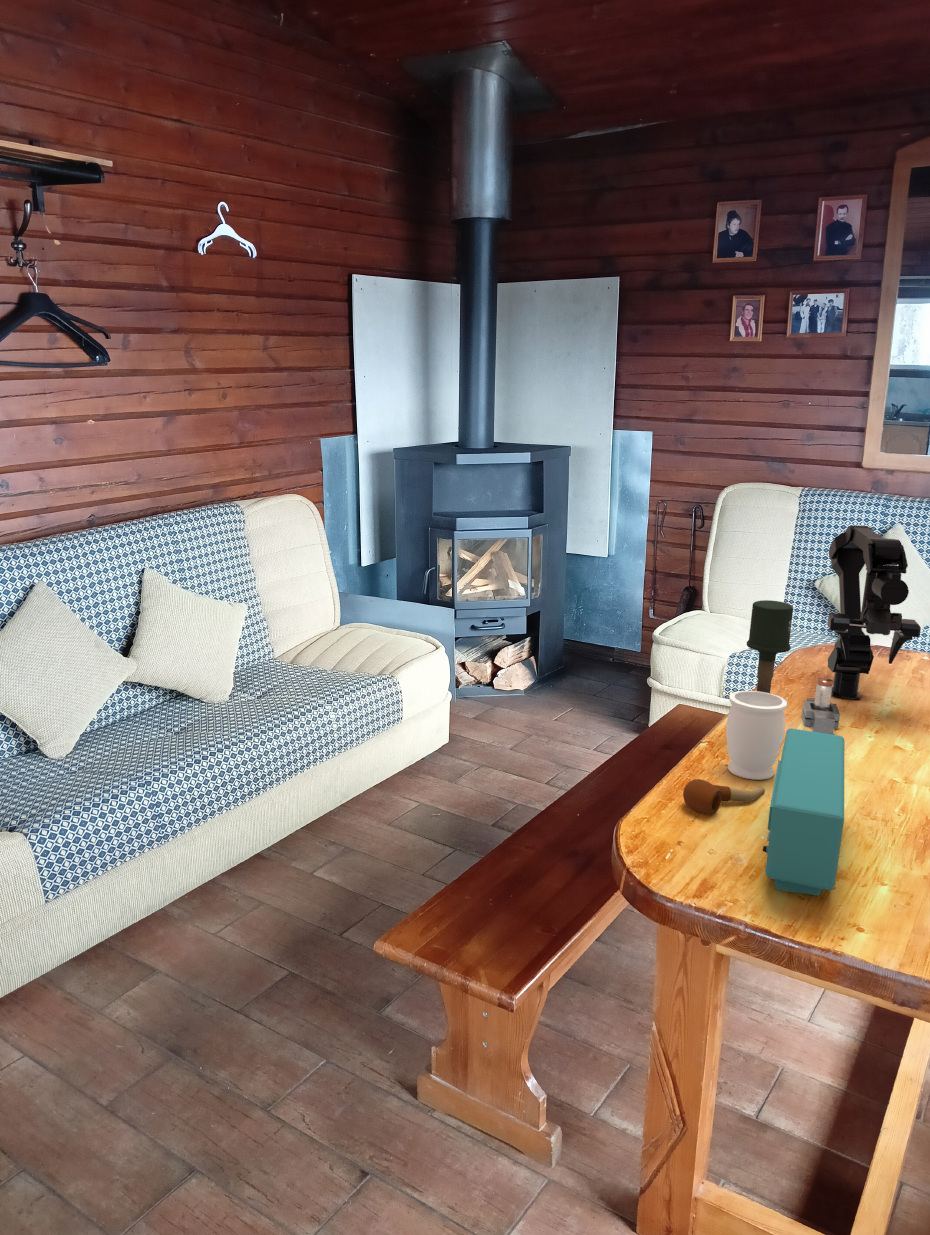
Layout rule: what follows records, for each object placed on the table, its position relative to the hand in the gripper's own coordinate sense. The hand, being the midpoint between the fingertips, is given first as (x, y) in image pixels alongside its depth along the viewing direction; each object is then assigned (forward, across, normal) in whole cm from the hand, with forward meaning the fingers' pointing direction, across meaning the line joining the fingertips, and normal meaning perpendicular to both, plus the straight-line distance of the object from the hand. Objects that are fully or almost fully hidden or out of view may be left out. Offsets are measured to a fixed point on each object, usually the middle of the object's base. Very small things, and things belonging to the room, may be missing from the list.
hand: (868, 661), depth 213 cm
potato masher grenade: (+13, -24, -27) cm, 38 cm away
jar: (+13, -26, -43) cm, 52 cm away
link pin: (+12, -10, -10) cm, 19 cm away
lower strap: (+12, -10, -5) cm, 17 cm away
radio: (+13, -20, -74) cm, 78 cm away
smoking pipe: (+13, -32, -58) cm, 68 cm away
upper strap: (+13, -10, -12) cm, 20 cm away
